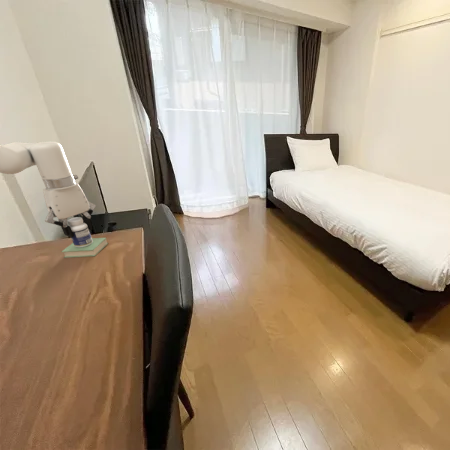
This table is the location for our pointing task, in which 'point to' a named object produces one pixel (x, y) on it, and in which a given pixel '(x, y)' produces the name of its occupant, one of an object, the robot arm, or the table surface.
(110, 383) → the table surface
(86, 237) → the pill bottle
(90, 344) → the table surface
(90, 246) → the book
